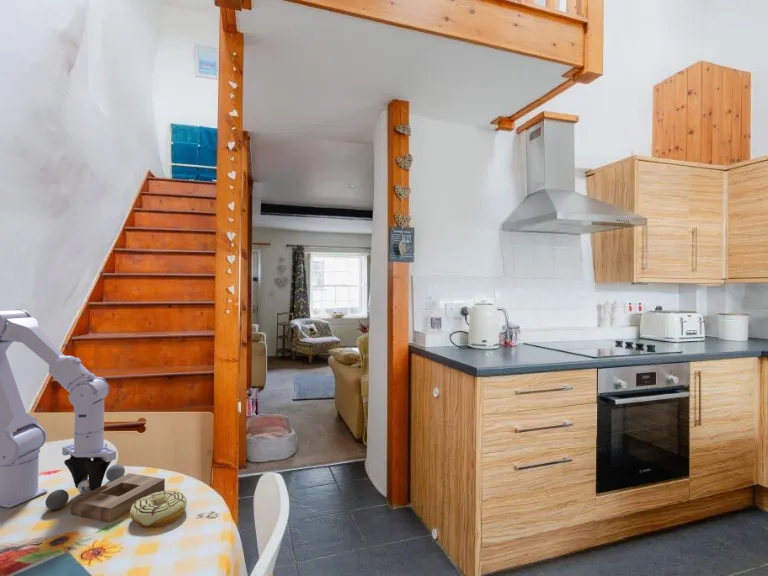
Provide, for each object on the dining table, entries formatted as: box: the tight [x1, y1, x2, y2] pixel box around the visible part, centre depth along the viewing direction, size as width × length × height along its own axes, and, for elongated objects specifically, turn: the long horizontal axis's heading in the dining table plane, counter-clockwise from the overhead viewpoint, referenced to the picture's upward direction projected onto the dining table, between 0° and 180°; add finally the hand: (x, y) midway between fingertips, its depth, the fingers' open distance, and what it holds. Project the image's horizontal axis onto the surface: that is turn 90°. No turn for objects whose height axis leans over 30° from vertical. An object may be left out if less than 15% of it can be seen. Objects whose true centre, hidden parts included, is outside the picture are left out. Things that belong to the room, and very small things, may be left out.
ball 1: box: [44, 489, 70, 511], centre depth 88 cm, size 4×4×4 cm
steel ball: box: [77, 476, 91, 495], centre depth 95 cm, size 4×4×4 cm
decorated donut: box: [129, 490, 188, 529], centre depth 86 cm, size 10×11×4 cm
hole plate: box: [70, 472, 166, 524], centre depth 91 cm, size 11×14×3 cm
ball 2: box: [105, 463, 126, 482], centre depth 102 cm, size 4×4×4 cm
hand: (88, 487), depth 95 cm, fingers closed on steel ball, 4 cm apart
